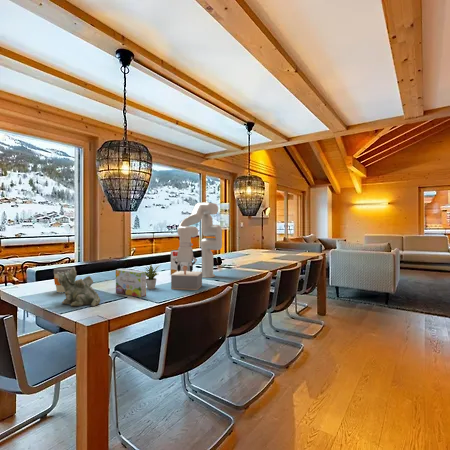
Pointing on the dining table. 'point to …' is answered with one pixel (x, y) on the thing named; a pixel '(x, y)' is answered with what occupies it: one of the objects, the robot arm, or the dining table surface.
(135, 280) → the snack box
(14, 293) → the dining table surface
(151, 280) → the house plant
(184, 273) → the flap
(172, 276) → the carton
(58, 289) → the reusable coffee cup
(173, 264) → the hard drive box
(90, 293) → the sculpture
